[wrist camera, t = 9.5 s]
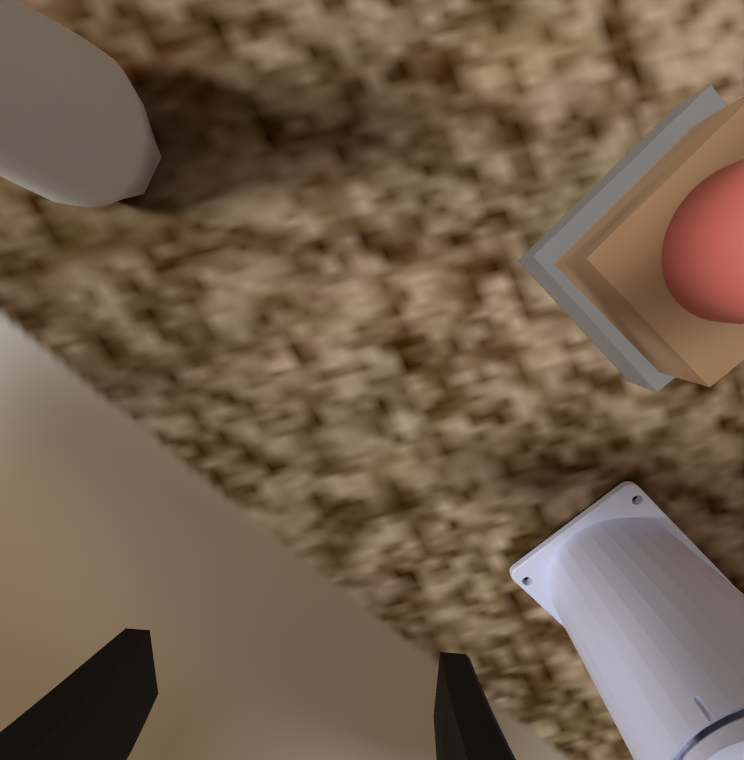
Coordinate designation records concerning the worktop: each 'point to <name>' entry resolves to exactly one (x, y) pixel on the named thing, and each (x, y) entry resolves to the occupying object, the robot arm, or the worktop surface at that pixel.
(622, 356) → the tower base block
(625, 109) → the worktop surface
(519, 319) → the worktop surface
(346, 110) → the worktop surface
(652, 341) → the tower top block
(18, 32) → the salt shaker
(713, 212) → the red rounded block
